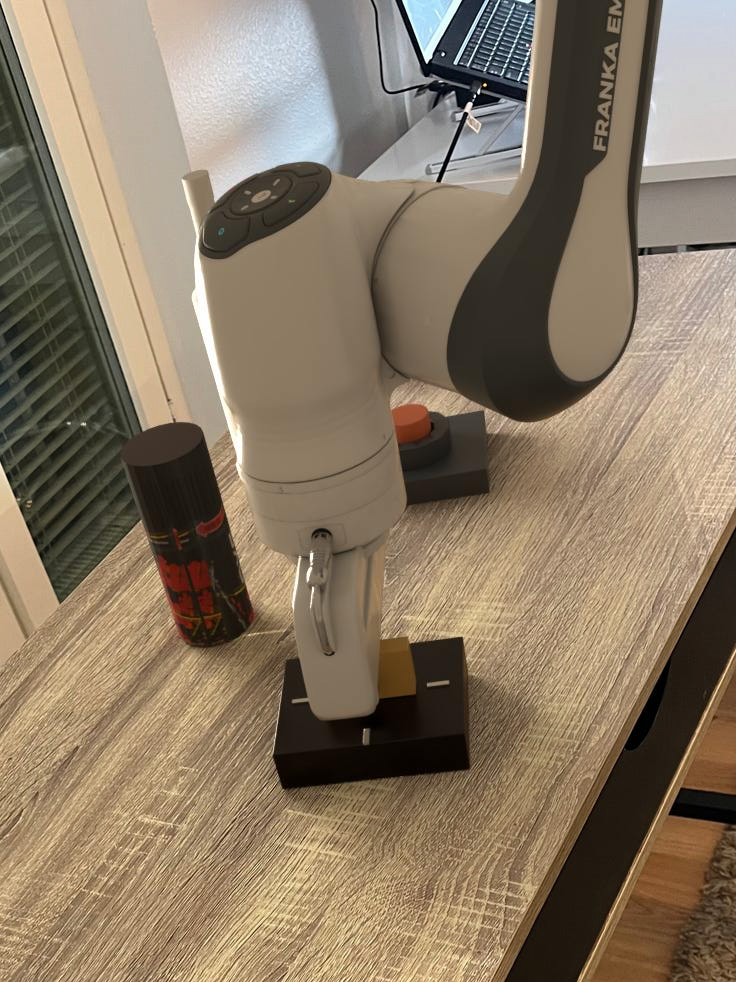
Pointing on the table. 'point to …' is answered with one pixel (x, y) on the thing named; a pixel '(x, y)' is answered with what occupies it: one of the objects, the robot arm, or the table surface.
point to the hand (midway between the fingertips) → (367, 682)
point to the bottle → (200, 204)
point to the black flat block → (379, 726)
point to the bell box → (447, 459)
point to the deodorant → (188, 532)
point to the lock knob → (396, 668)
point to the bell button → (411, 422)
